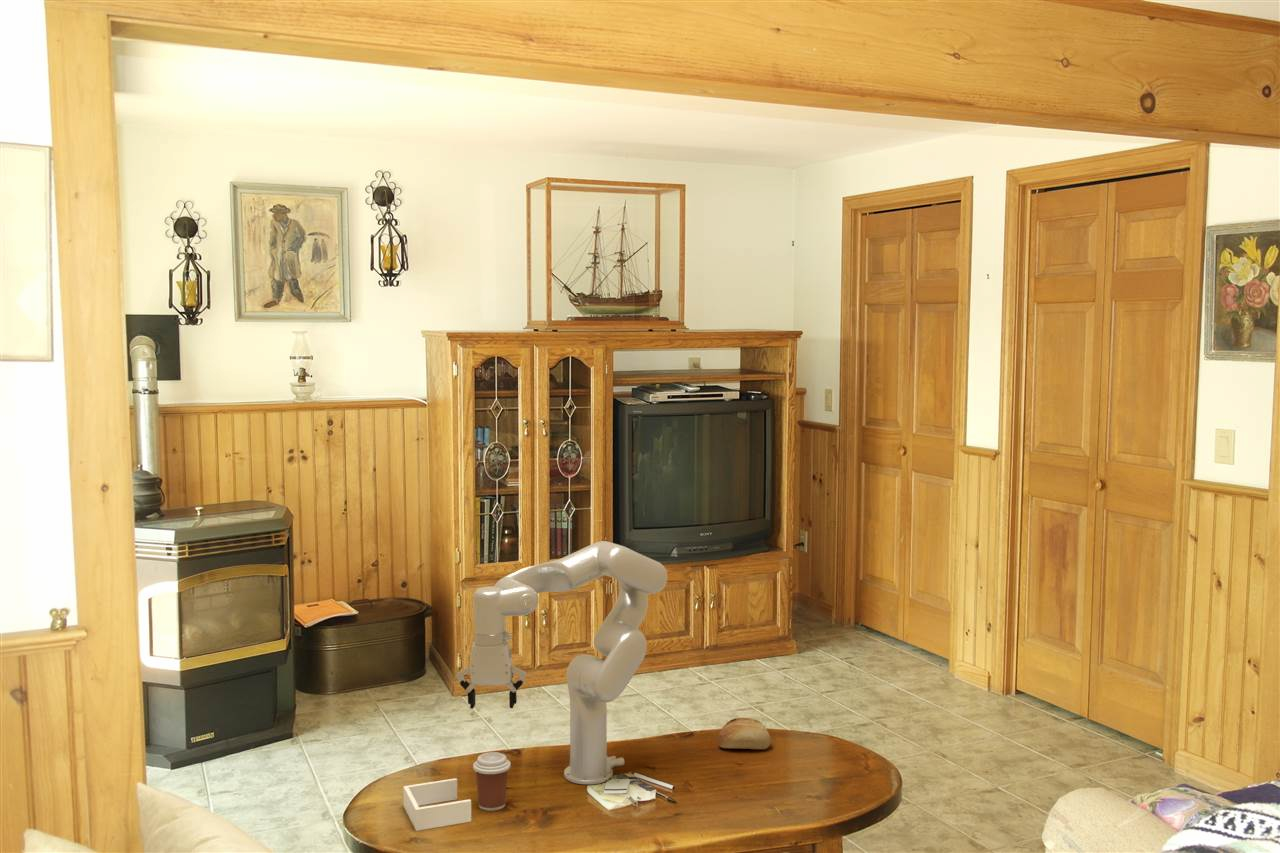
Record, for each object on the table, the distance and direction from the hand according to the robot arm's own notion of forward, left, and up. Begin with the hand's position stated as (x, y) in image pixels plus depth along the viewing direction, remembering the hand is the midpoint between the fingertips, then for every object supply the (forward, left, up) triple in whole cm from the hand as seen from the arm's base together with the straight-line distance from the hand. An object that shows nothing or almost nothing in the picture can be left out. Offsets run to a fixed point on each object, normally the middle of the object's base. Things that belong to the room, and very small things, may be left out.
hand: (492, 706), depth 270 cm
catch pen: (+15, +3, -24) cm, 28 cm away
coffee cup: (+1, +3, -24) cm, 24 cm away
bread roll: (-74, -7, -24) cm, 78 cm away
